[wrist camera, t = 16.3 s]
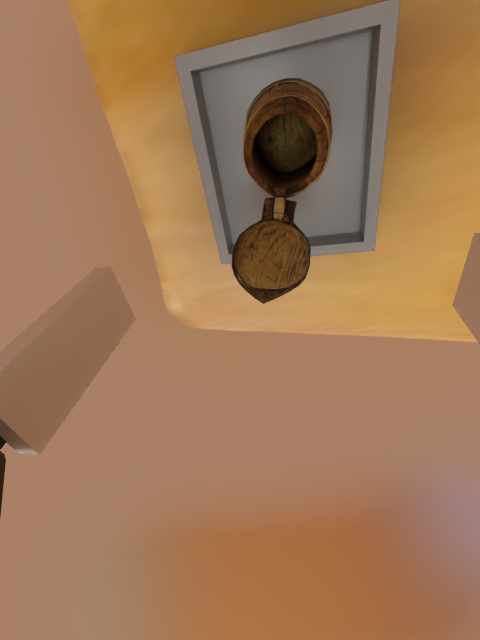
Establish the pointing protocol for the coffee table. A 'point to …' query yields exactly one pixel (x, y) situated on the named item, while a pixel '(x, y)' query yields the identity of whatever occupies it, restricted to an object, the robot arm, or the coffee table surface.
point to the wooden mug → (281, 183)
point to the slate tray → (345, 108)
